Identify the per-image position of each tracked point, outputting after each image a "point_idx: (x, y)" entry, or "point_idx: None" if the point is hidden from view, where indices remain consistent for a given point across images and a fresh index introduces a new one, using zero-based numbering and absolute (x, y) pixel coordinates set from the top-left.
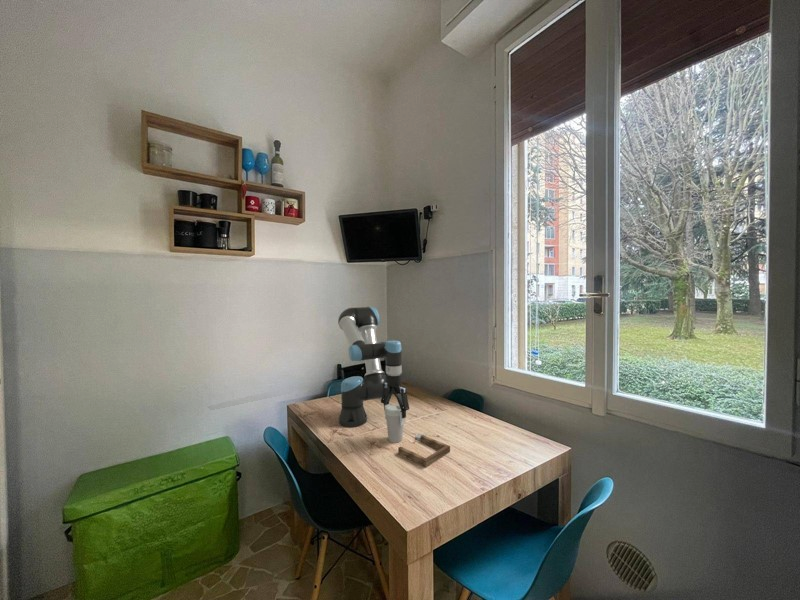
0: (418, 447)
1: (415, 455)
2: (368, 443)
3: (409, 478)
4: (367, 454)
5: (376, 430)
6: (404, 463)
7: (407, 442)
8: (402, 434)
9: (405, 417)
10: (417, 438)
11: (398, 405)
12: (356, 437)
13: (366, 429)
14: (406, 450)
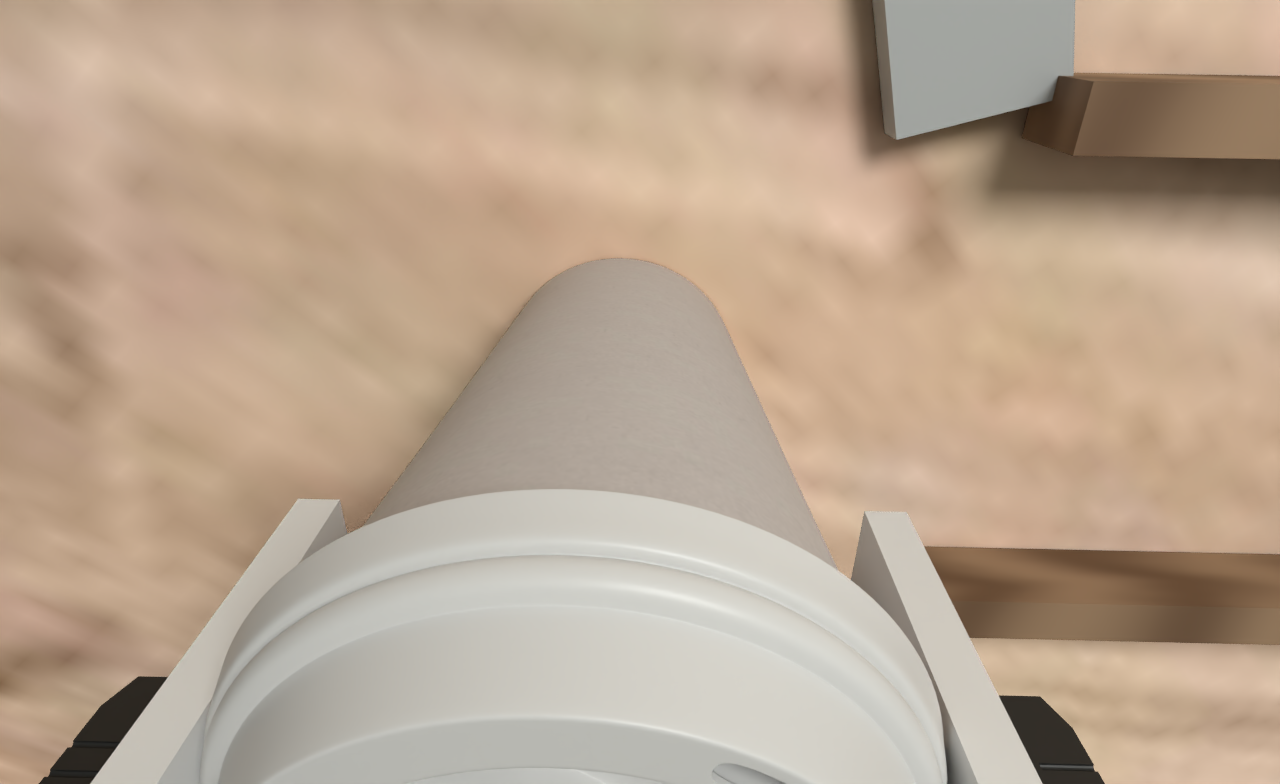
0: (1081, 318)
1: (1253, 638)
2: None
3: (1252, 771)
4: None
5: (142, 344)
6: (1090, 661)
7: (839, 311)
8: (731, 343)
9: (1037, 705)
10: (942, 123)
11: (458, 761)
12: (198, 627)
13: (18, 419)
14: (1078, 623)
